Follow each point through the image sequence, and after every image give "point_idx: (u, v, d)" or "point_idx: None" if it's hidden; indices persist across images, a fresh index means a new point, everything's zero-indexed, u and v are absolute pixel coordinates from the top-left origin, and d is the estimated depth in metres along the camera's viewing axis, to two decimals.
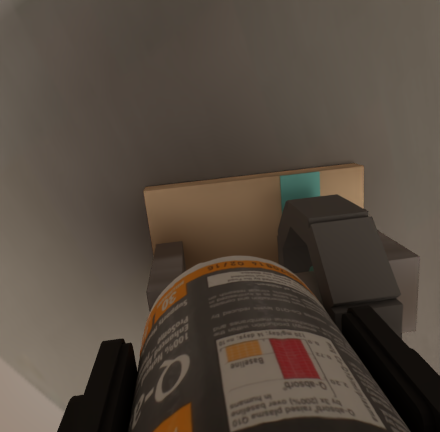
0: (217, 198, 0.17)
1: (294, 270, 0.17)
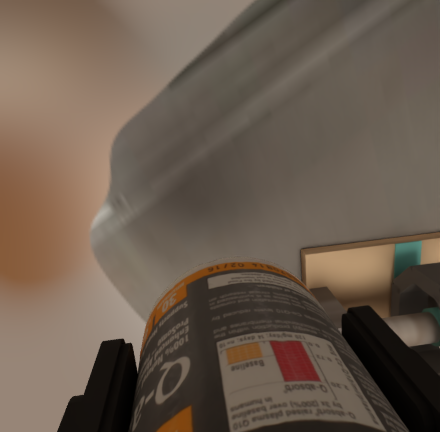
0: (352, 258, 0.25)
1: (405, 307, 0.25)
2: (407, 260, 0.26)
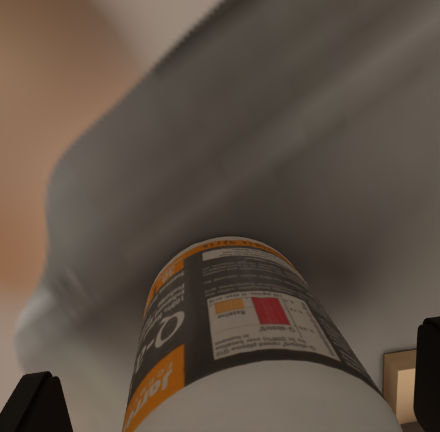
0: None
1: None
2: None
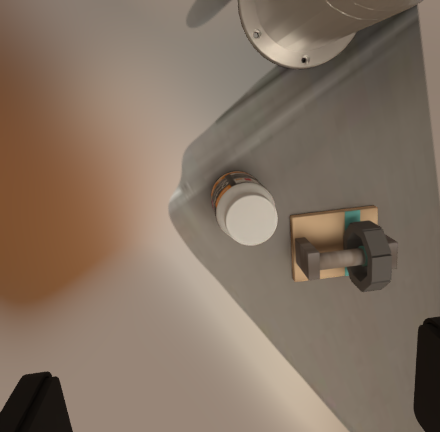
0: (320, 220, 0.43)
1: (351, 248, 0.43)
2: (352, 221, 0.44)
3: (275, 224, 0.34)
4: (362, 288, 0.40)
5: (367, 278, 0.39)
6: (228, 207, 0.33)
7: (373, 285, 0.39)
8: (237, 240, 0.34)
